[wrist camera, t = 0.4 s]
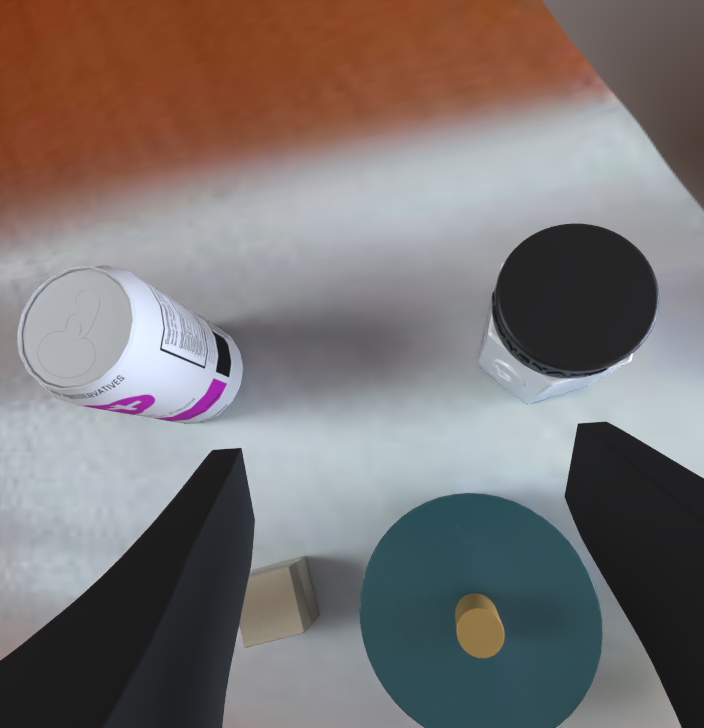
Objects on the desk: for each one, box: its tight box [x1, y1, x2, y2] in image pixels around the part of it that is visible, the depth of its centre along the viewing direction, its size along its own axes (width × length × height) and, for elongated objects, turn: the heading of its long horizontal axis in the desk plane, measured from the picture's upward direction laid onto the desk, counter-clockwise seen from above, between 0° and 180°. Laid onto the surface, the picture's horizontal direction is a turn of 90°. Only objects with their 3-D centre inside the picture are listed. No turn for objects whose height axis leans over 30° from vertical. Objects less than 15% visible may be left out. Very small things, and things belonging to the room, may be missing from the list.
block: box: [239, 556, 319, 648], centre depth 36 cm, size 4×4×4 cm
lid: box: [360, 493, 602, 728], centre depth 29 cm, size 14×14×4 cm
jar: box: [478, 224, 659, 405], centre depth 33 cm, size 9×8×12 cm
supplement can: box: [17, 265, 243, 424], centre depth 36 cm, size 8×8×15 cm
